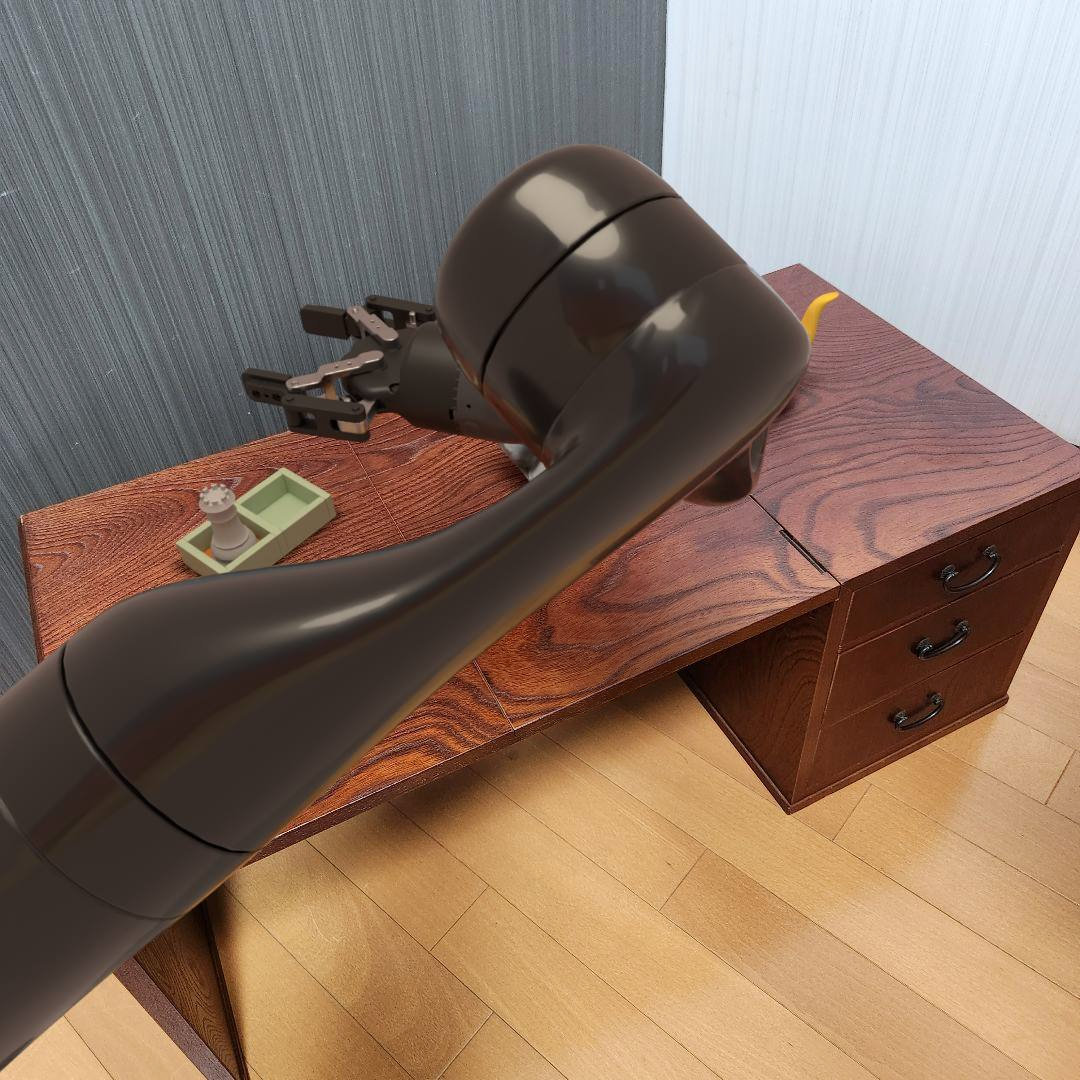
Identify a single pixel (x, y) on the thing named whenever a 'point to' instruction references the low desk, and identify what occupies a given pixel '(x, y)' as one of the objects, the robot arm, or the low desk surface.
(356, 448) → the low desk surface
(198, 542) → the socket pad
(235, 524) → the rook chess piece
